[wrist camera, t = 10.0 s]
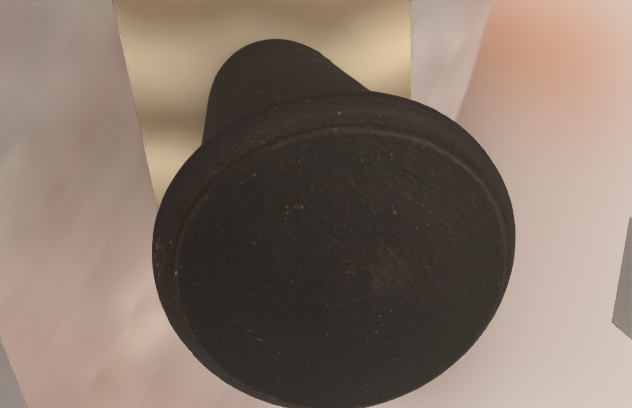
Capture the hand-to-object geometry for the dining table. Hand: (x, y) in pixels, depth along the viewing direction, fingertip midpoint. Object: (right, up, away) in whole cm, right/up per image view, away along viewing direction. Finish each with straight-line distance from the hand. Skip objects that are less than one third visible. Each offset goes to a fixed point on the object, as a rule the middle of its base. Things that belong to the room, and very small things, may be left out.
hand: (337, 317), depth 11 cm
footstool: (-4, +11, +27) cm, 30 cm away
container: (-3, +8, +19) cm, 21 cm away
